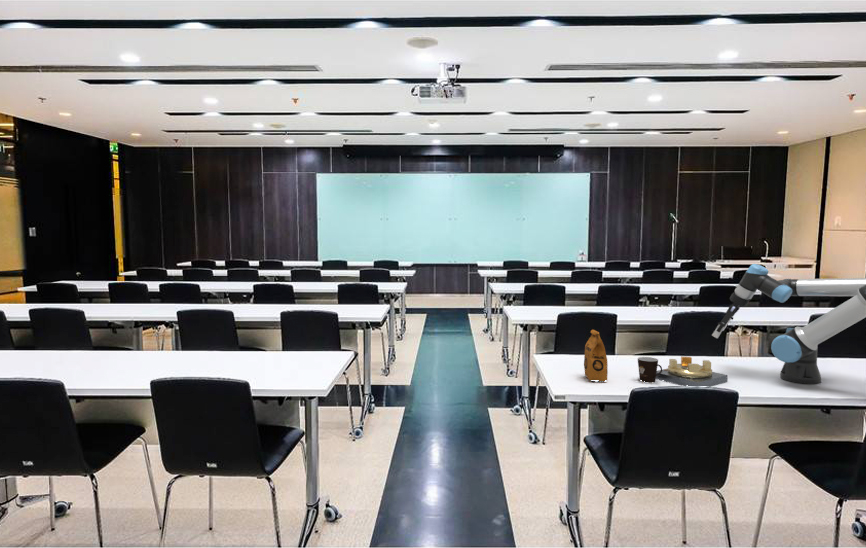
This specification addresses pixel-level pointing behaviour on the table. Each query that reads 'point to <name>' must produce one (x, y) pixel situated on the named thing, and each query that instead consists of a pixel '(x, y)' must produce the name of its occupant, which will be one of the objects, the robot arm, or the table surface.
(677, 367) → the lathe chuck
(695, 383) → the housing
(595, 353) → the coffee package
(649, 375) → the coffee mug
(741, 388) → the table surface
